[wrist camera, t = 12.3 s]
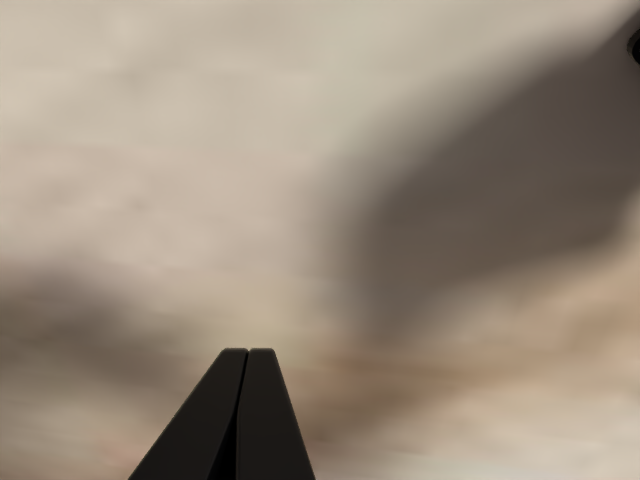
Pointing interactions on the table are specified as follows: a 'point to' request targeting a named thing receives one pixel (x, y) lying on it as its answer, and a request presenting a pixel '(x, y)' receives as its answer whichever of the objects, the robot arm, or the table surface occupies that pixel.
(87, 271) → the table surface
